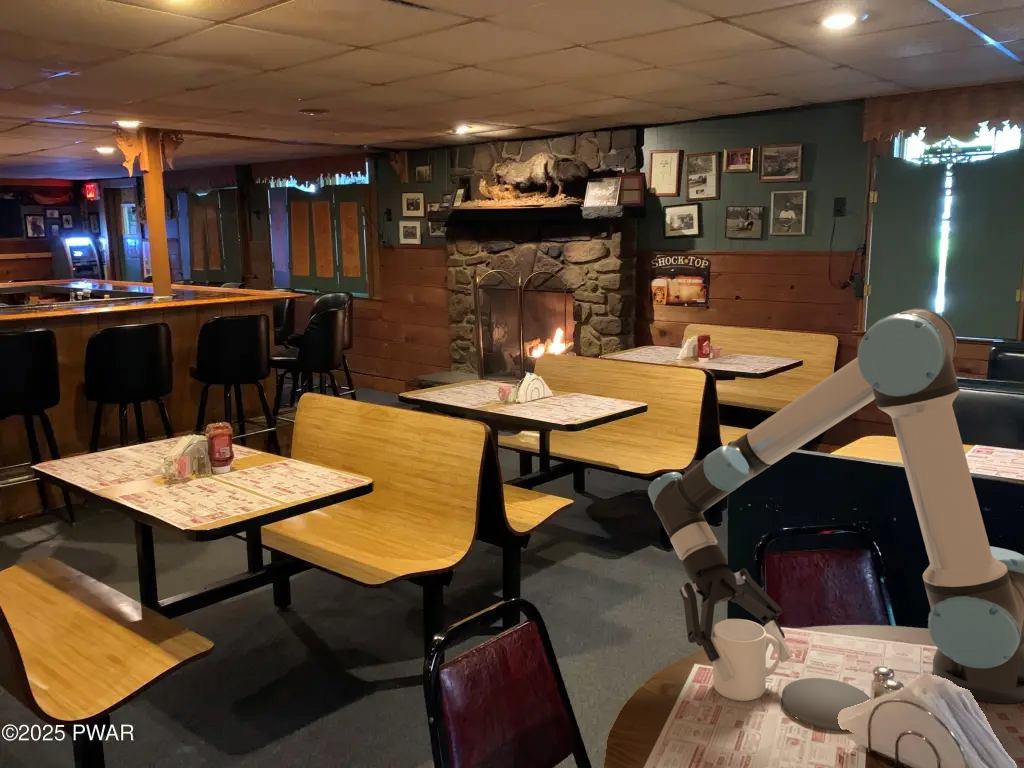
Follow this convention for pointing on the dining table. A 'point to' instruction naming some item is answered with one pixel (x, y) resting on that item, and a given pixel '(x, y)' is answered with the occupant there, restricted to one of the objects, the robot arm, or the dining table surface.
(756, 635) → the mug
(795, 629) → the dining table surface
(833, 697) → the coaster mat
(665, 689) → the dining table surface
